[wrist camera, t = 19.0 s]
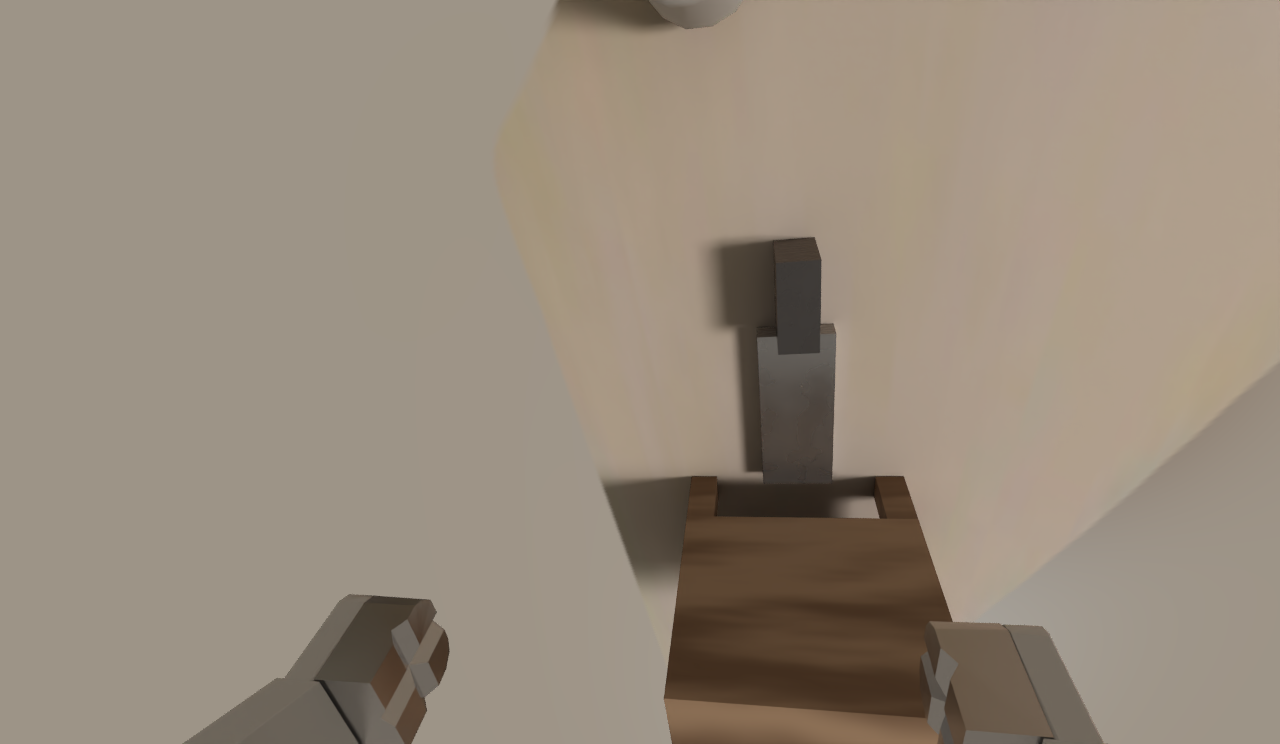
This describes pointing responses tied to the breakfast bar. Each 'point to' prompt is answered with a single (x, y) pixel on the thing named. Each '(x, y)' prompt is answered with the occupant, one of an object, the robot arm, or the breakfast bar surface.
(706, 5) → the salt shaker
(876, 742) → the walnut cabinet
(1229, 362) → the breakfast bar surface
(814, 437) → the scraper
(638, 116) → the breakfast bar surface
